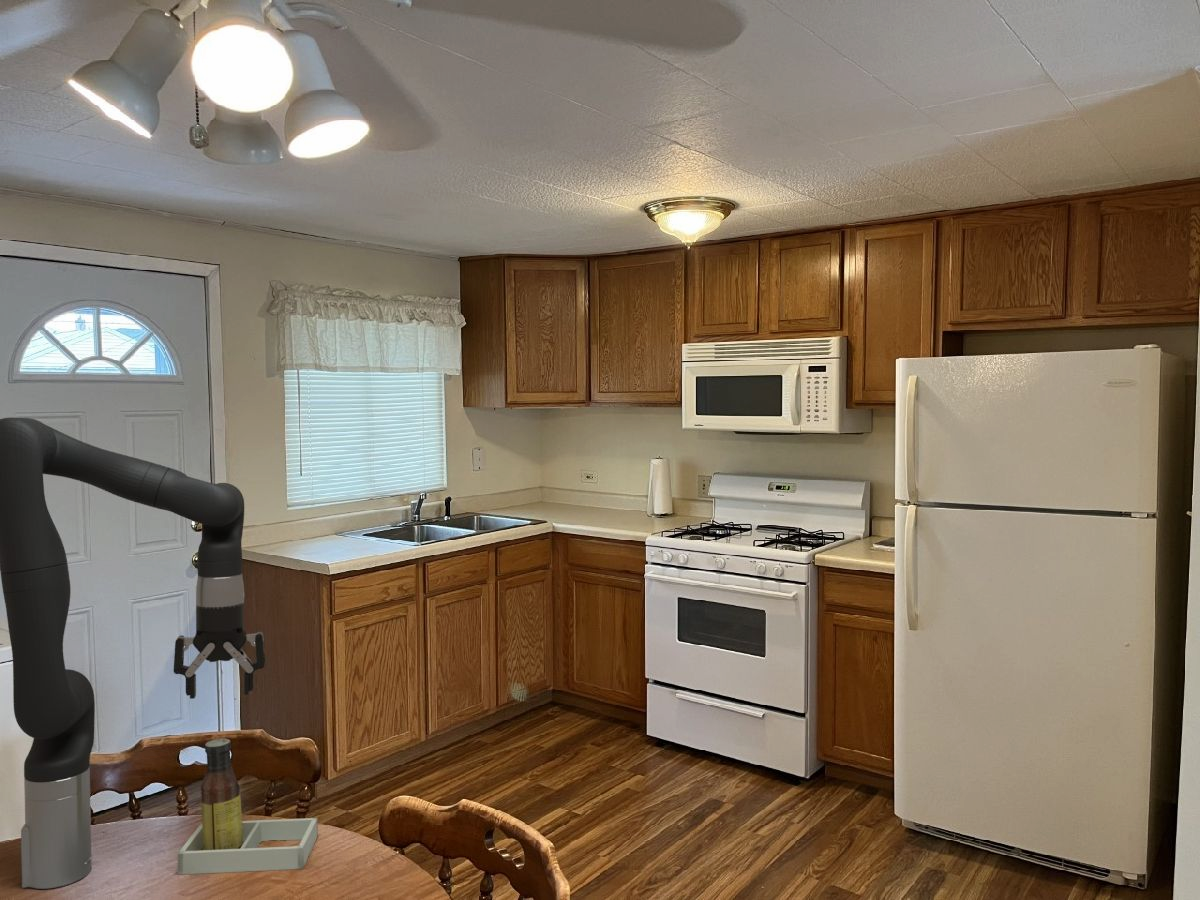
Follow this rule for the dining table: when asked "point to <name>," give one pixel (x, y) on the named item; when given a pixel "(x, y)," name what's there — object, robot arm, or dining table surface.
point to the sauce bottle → (220, 799)
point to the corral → (252, 848)
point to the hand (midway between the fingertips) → (220, 695)
